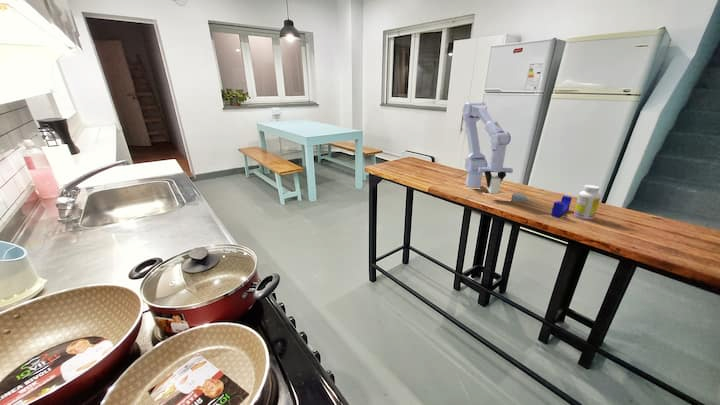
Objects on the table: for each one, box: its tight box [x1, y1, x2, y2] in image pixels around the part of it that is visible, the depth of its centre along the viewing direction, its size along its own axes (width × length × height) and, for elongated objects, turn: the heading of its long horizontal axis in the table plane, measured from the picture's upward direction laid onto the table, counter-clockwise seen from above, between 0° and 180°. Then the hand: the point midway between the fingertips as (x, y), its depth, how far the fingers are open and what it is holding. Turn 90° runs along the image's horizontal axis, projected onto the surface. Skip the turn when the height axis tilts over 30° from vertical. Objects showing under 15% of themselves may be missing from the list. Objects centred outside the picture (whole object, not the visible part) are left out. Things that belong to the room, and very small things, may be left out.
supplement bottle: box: [573, 184, 601, 220], centre depth 111 cm, size 7×7×13 cm
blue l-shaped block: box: [550, 195, 573, 219], centre depth 117 cm, size 12×4×6 cm, turn 131°
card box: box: [485, 173, 502, 194], centre depth 134 cm, size 4×9×7 cm, turn 169°
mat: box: [509, 192, 533, 204], centre depth 135 cm, size 13×20×1 cm, turn 79°
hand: (492, 186), depth 134 cm, fingers closed on card box, 3 cm apart
